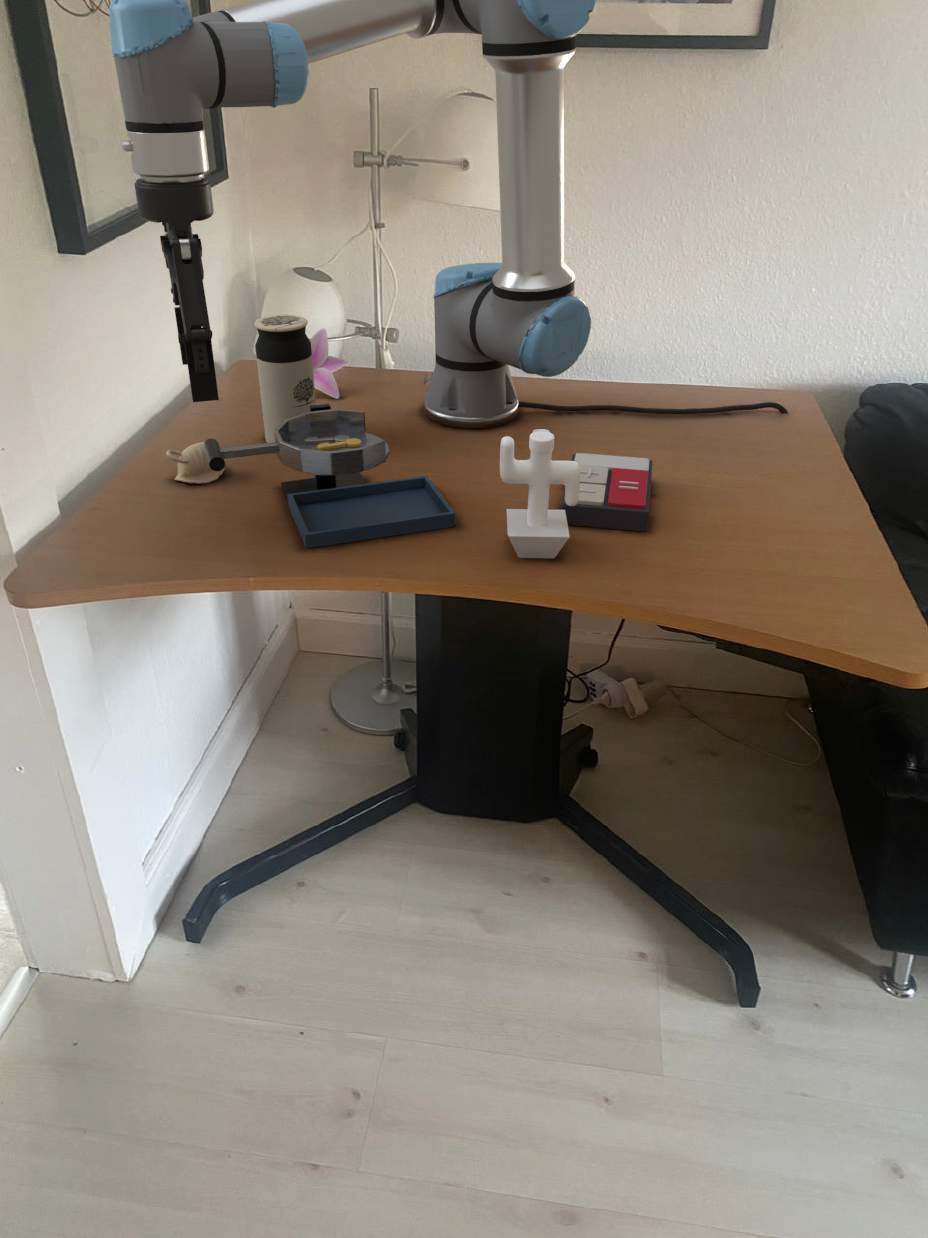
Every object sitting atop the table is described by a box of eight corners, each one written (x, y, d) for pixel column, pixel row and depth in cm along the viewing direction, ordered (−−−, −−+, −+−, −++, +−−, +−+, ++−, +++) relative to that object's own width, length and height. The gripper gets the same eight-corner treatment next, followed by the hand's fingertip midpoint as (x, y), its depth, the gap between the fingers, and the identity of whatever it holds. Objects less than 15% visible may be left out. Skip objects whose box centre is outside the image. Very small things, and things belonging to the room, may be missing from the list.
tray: (427, 488, 131) (427, 475, 130) (455, 526, 122) (455, 513, 121) (288, 506, 126) (287, 493, 125) (306, 548, 116) (304, 534, 115)
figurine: (576, 564, 114) (586, 446, 106) (497, 563, 114) (501, 444, 106) (571, 536, 120) (580, 422, 112) (496, 535, 120) (500, 421, 112)
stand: (359, 478, 134) (355, 392, 127) (368, 492, 130) (364, 404, 123) (281, 488, 131) (272, 400, 124) (288, 503, 127) (278, 413, 120)
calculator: (561, 498, 120) (573, 447, 132) (559, 528, 123) (571, 475, 135) (649, 506, 119) (653, 454, 131) (646, 536, 121) (649, 482, 133)
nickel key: (349, 436, 121) (348, 433, 121) (350, 442, 120) (350, 439, 119) (304, 439, 120) (304, 436, 120) (305, 445, 119) (305, 442, 118)
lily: (263, 403, 162) (267, 362, 154) (283, 357, 169) (289, 315, 161) (330, 426, 164) (339, 386, 156) (349, 379, 170) (357, 339, 162)
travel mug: (256, 438, 146) (242, 319, 137) (301, 426, 150) (291, 310, 141) (282, 454, 141) (269, 332, 131) (328, 441, 145) (319, 322, 136)
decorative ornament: (232, 476, 134) (227, 440, 132) (176, 491, 130) (170, 455, 127) (218, 467, 137) (213, 431, 134) (163, 482, 132) (157, 445, 130)
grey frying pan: (372, 426, 126) (371, 403, 124) (402, 468, 114) (401, 444, 112) (201, 445, 120) (198, 421, 118) (215, 493, 108) (211, 467, 106)
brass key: (358, 440, 120) (358, 437, 120) (363, 445, 119) (363, 442, 119) (315, 446, 118) (315, 443, 118) (319, 452, 117) (319, 449, 117)
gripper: (128, 161, 106) (158, 351, 117) (138, 196, 86) (173, 421, 98) (197, 160, 108) (220, 346, 120) (223, 193, 88) (248, 414, 100)
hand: (199, 380), depth 109 cm, fingers open, 13 cm apart
